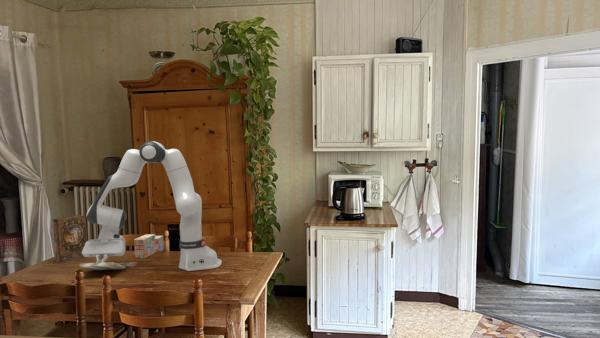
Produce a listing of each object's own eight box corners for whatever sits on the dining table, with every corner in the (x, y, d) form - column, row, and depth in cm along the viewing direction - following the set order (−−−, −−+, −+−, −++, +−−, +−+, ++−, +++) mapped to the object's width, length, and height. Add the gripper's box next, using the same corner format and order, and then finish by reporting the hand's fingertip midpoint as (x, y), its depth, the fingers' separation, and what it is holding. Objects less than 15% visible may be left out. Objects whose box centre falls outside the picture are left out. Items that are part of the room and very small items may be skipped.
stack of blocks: (155, 250, 249) (154, 230, 248) (164, 250, 248) (163, 230, 247) (134, 260, 228) (133, 239, 227) (144, 260, 227) (143, 239, 226)
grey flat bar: (138, 264, 217) (138, 261, 217) (134, 268, 211) (133, 265, 211) (92, 266, 216) (92, 263, 215) (87, 270, 209) (86, 267, 209)
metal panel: (125, 269, 210) (126, 266, 210) (113, 265, 194) (113, 262, 195) (94, 271, 209) (94, 268, 209) (79, 266, 193) (79, 263, 194)
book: (58, 263, 225) (55, 220, 223) (54, 262, 228) (51, 219, 226) (88, 256, 238) (85, 215, 236) (83, 255, 241) (81, 214, 239)
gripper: (84, 236, 205) (75, 261, 196) (125, 235, 206) (118, 260, 197) (89, 242, 209) (81, 267, 201) (128, 241, 210) (122, 265, 202)
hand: (99, 263), depth 199 cm, fingers closed, pressing on metal panel
